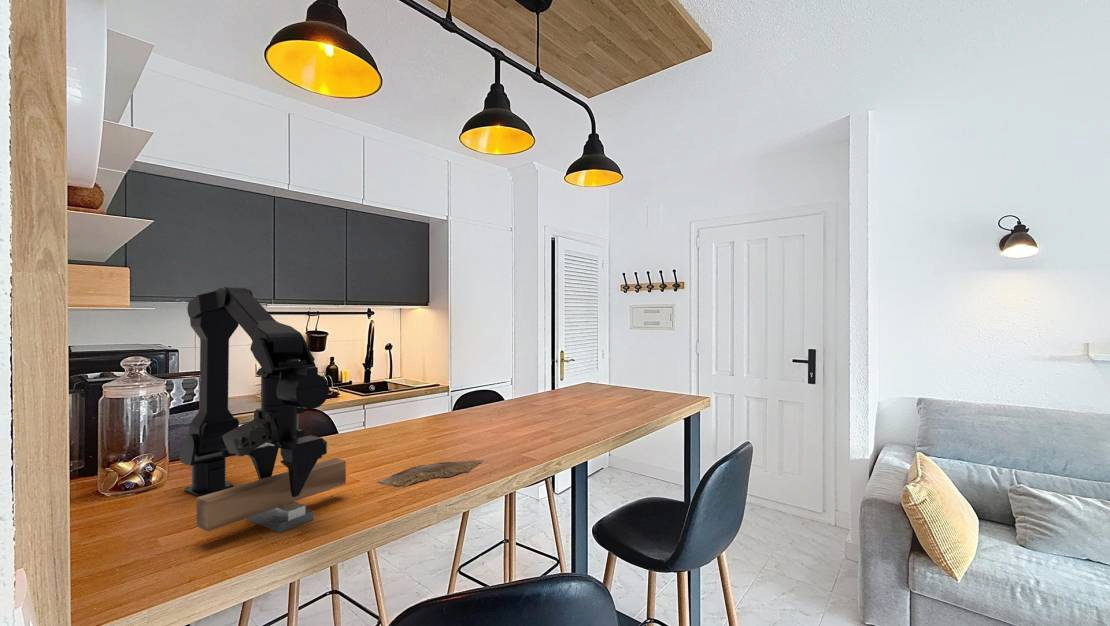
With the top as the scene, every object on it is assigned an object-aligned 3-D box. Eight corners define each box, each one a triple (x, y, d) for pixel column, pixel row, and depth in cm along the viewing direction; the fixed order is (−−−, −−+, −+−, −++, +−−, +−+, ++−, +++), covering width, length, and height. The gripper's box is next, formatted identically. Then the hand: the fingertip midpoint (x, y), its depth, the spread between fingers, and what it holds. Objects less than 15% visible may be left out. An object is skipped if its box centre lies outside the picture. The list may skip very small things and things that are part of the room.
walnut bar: (196, 526, 76) (196, 497, 76) (334, 480, 97) (334, 457, 97) (207, 531, 75) (207, 502, 75) (345, 483, 95) (345, 460, 95)
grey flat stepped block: (246, 519, 86) (246, 502, 86) (280, 507, 91) (280, 491, 91) (279, 532, 81) (279, 514, 81) (313, 519, 86) (313, 502, 86)
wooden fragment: (385, 492, 100) (385, 487, 100) (370, 477, 109) (370, 473, 109) (496, 469, 115) (496, 464, 115) (475, 457, 124) (475, 453, 124)
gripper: (201, 404, 84) (201, 495, 84) (262, 417, 74) (262, 519, 74) (267, 395, 93) (267, 476, 93) (329, 405, 84) (329, 496, 84)
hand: (279, 491), depth 86 cm, fingers open, 9 cm apart
